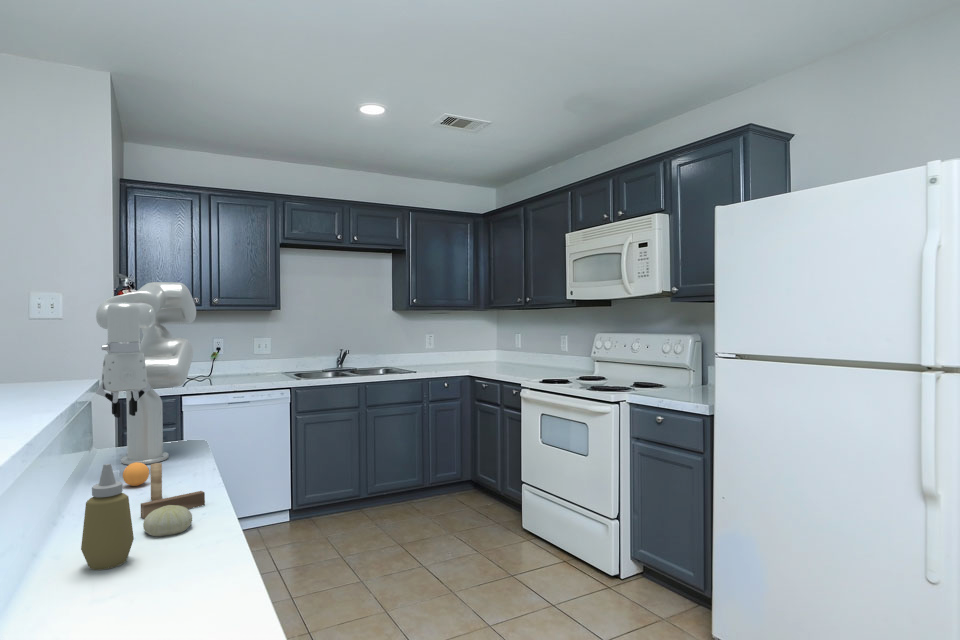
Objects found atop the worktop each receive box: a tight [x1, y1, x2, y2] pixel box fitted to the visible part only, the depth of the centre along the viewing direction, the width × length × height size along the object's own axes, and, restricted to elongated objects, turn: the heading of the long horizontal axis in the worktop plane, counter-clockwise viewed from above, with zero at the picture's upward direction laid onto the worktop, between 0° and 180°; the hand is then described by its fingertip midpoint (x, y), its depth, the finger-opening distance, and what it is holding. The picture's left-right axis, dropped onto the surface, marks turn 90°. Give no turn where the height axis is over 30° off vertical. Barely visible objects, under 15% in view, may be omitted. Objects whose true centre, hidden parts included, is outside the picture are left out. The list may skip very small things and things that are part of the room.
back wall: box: [140, 490, 206, 520], centre depth 135 cm, size 2×13×3 cm, turn 135°
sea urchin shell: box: [142, 505, 193, 538], centre depth 123 cm, size 9×8×8 cm
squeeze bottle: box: [80, 463, 135, 571], centre depth 107 cm, size 8×8×18 cm
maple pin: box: [150, 462, 163, 501], centre depth 144 cm, size 2×2×8 cm
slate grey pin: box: [112, 469, 121, 482], centre depth 137 cm, size 2×2×8 cm
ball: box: [122, 462, 150, 487], centre depth 155 cm, size 6×6×6 cm
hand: (124, 415), depth 161 cm, fingers open, 3 cm apart
